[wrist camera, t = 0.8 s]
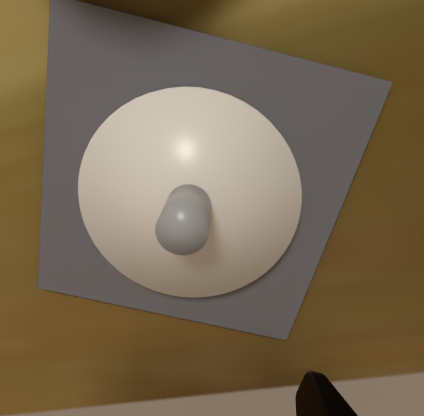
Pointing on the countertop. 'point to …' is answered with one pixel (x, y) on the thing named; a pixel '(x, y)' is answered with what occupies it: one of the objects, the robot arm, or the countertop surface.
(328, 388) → the robot arm
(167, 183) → the lid
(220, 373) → the countertop surface
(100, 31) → the mat
